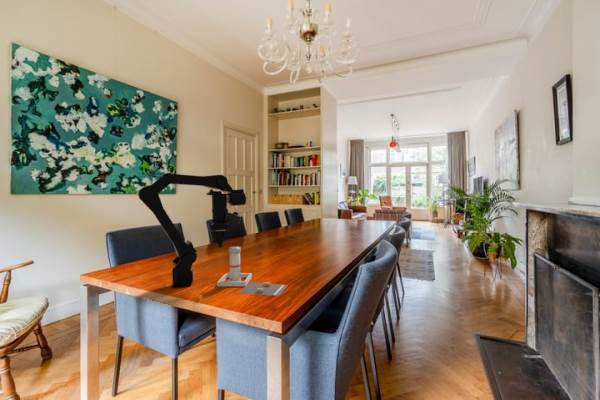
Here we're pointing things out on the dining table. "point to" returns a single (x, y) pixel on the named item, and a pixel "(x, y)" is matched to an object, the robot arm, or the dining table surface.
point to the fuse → (235, 263)
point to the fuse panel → (264, 289)
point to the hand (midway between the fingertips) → (220, 245)
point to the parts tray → (235, 283)
